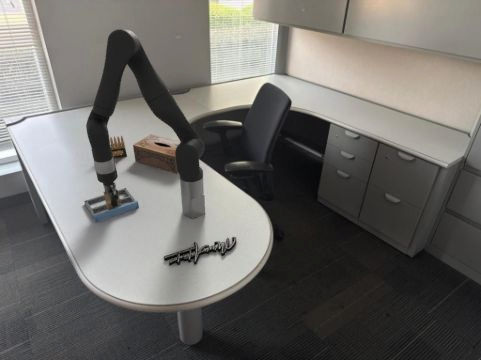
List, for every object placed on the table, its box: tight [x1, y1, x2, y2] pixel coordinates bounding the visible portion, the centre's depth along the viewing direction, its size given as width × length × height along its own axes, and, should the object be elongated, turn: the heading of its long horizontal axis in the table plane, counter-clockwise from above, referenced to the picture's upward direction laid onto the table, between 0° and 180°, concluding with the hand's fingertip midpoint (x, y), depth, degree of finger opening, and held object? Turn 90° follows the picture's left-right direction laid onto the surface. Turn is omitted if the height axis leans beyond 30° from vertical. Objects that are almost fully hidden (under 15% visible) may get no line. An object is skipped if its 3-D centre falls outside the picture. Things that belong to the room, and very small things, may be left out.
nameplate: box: [163, 236, 237, 266], centre depth 123 cm, size 28×2×10 cm
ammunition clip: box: [109, 135, 128, 159], centre depth 176 cm, size 11×2×12 cm, turn 111°
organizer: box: [84, 187, 140, 223], centre depth 144 cm, size 15×18×3 cm
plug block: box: [103, 188, 122, 211], centre depth 139 cm, size 3×5×8 cm, turn 126°
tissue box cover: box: [132, 133, 181, 175], centre depth 175 cm, size 26×14×10 cm, turn 65°
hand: (113, 203), depth 140 cm, fingers closed on plug block, 3 cm apart
